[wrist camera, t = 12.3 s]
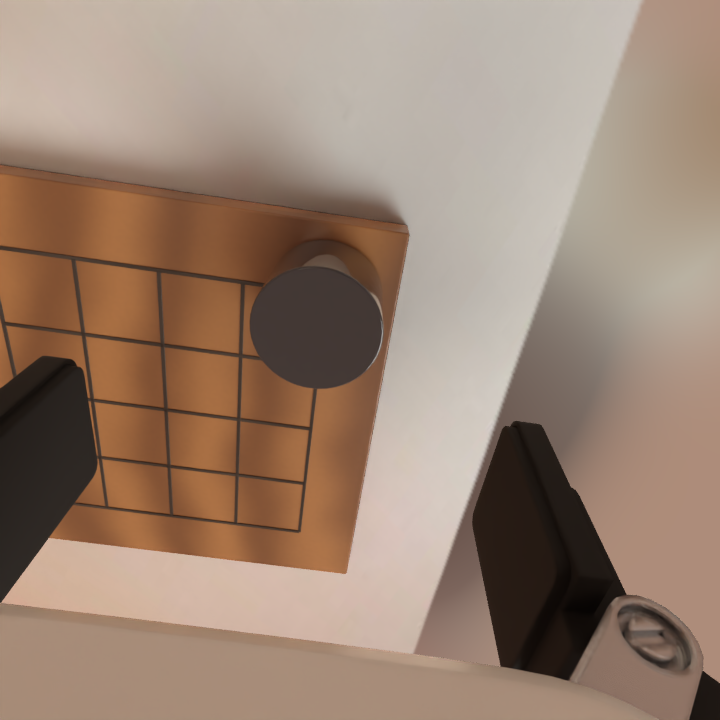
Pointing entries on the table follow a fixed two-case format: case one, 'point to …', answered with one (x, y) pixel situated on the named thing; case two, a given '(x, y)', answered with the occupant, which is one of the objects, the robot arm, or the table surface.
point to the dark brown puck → (319, 315)
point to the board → (188, 366)
